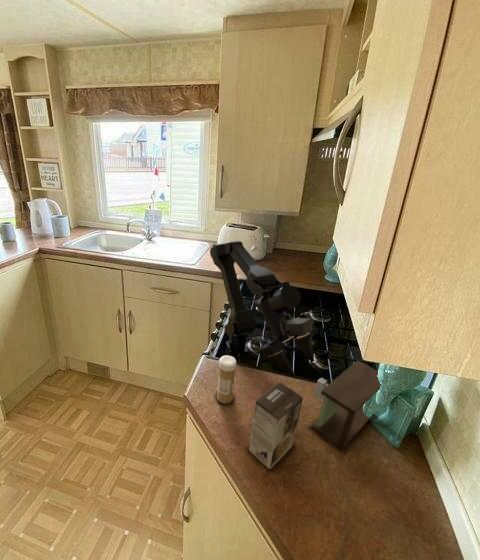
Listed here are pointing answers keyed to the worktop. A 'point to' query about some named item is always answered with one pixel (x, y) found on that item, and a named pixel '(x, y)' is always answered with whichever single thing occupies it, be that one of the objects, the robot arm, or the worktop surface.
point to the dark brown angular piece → (348, 403)
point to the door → (324, 403)
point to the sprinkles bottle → (226, 379)
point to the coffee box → (274, 424)
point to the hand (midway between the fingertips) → (303, 368)
